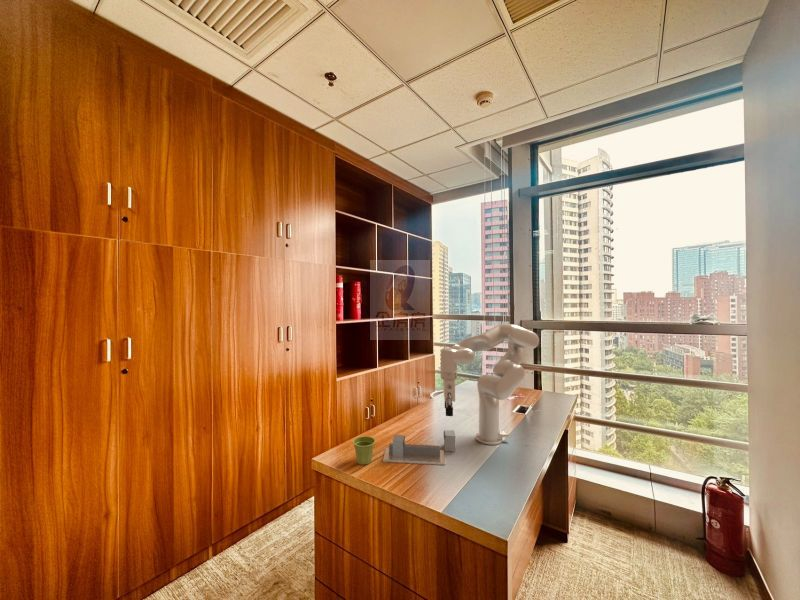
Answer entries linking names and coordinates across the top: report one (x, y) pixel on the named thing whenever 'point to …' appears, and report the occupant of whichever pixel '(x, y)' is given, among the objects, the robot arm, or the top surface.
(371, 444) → the plant pot
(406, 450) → the rail
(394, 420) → the top surface
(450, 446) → the grey block
